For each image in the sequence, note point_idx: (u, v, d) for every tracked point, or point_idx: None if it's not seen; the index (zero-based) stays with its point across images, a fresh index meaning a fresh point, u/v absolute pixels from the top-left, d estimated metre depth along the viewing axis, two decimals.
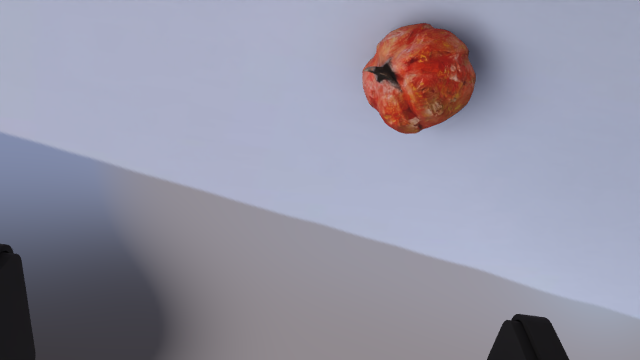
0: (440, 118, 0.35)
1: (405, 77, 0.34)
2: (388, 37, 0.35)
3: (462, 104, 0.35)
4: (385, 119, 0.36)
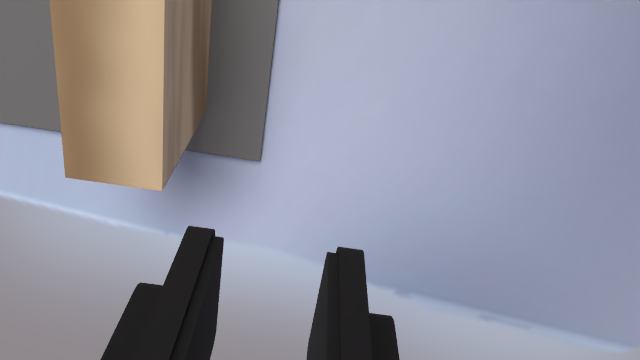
0: None
1: None
2: None
3: None
4: None
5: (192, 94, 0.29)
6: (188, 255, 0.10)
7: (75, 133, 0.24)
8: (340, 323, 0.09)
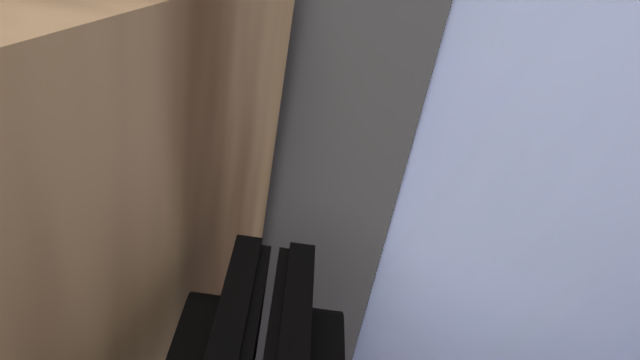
0: None
1: None
2: None
3: None
4: None
5: None
6: (241, 264, 0.10)
7: None
8: (281, 318, 0.09)
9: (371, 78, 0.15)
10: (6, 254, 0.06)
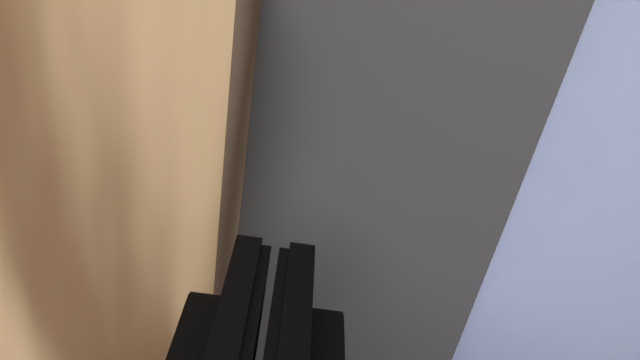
0: None
1: None
2: None
3: None
4: None
5: (41, 344, 0.13)
6: (241, 264, 0.10)
7: None
8: (281, 318, 0.09)
9: (494, 103, 0.15)
10: None
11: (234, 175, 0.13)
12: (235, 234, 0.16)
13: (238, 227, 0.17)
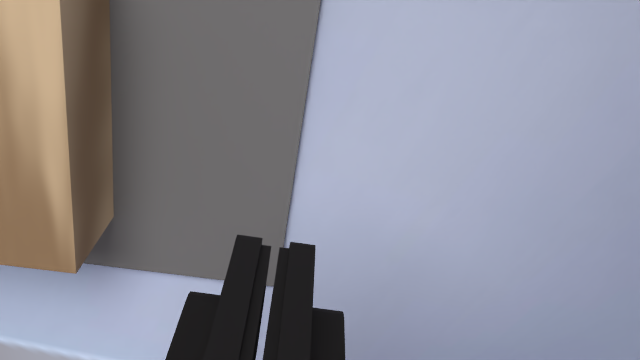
0: None
1: None
2: None
3: None
4: None
5: None
6: (241, 264, 0.10)
7: None
8: (281, 318, 0.09)
9: (274, 46, 0.22)
10: None
11: (89, 88, 0.20)
12: (106, 143, 0.23)
13: (111, 142, 0.24)
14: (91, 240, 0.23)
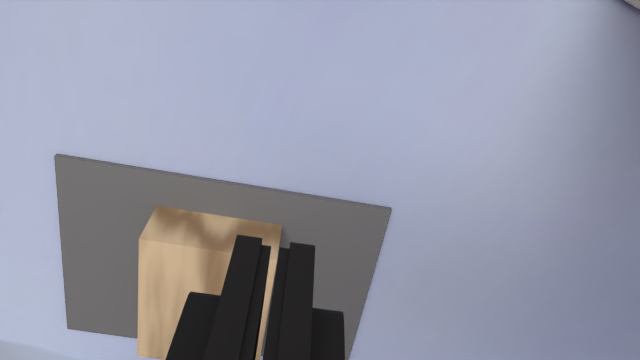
0: None
1: None
2: None
3: None
4: None
5: None
6: (241, 264, 0.10)
7: None
8: (281, 318, 0.09)
9: (356, 264, 0.45)
10: (155, 265, 0.39)
11: None
12: None
13: None
14: None
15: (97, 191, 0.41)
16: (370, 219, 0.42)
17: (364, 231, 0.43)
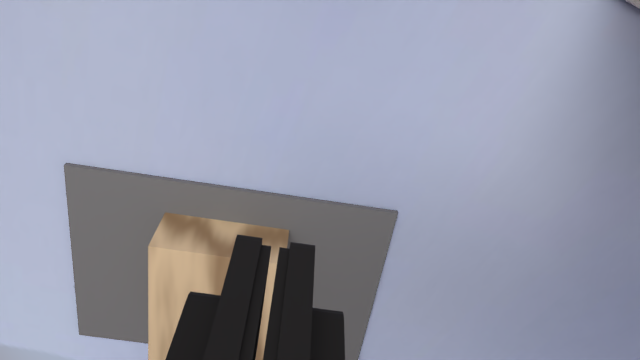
0: None
1: None
2: None
3: None
4: None
5: None
6: (241, 264, 0.10)
7: None
8: (282, 318, 0.09)
9: (363, 267, 0.45)
10: (164, 271, 0.40)
11: None
12: None
13: None
14: None
15: (107, 199, 0.42)
16: (377, 223, 0.43)
17: (371, 234, 0.43)
